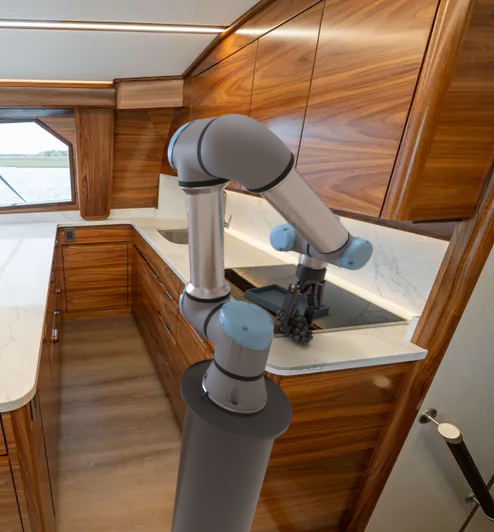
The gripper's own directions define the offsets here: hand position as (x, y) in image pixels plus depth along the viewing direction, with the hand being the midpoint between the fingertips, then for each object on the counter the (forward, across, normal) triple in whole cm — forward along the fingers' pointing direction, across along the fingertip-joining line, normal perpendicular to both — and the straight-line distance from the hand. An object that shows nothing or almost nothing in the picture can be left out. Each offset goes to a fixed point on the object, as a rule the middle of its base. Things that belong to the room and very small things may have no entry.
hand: (296, 329), depth 97 cm
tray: (+2, +16, +16) cm, 23 cm away
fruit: (+2, -1, 0) cm, 3 cm away
